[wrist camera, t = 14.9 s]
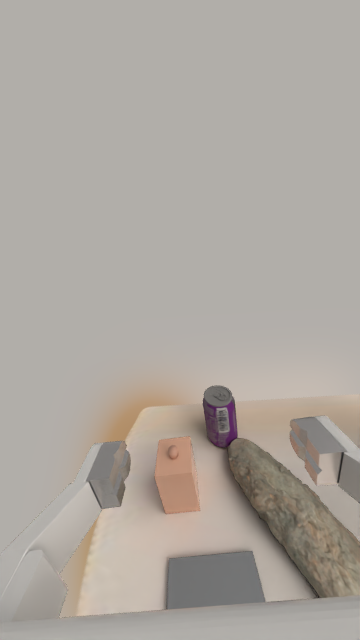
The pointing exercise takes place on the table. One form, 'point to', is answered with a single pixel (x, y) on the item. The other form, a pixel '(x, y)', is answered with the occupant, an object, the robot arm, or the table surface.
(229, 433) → the beverage can
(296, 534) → the long grey stone
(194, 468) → the peach block with knob
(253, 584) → the mat
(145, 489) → the table surface
